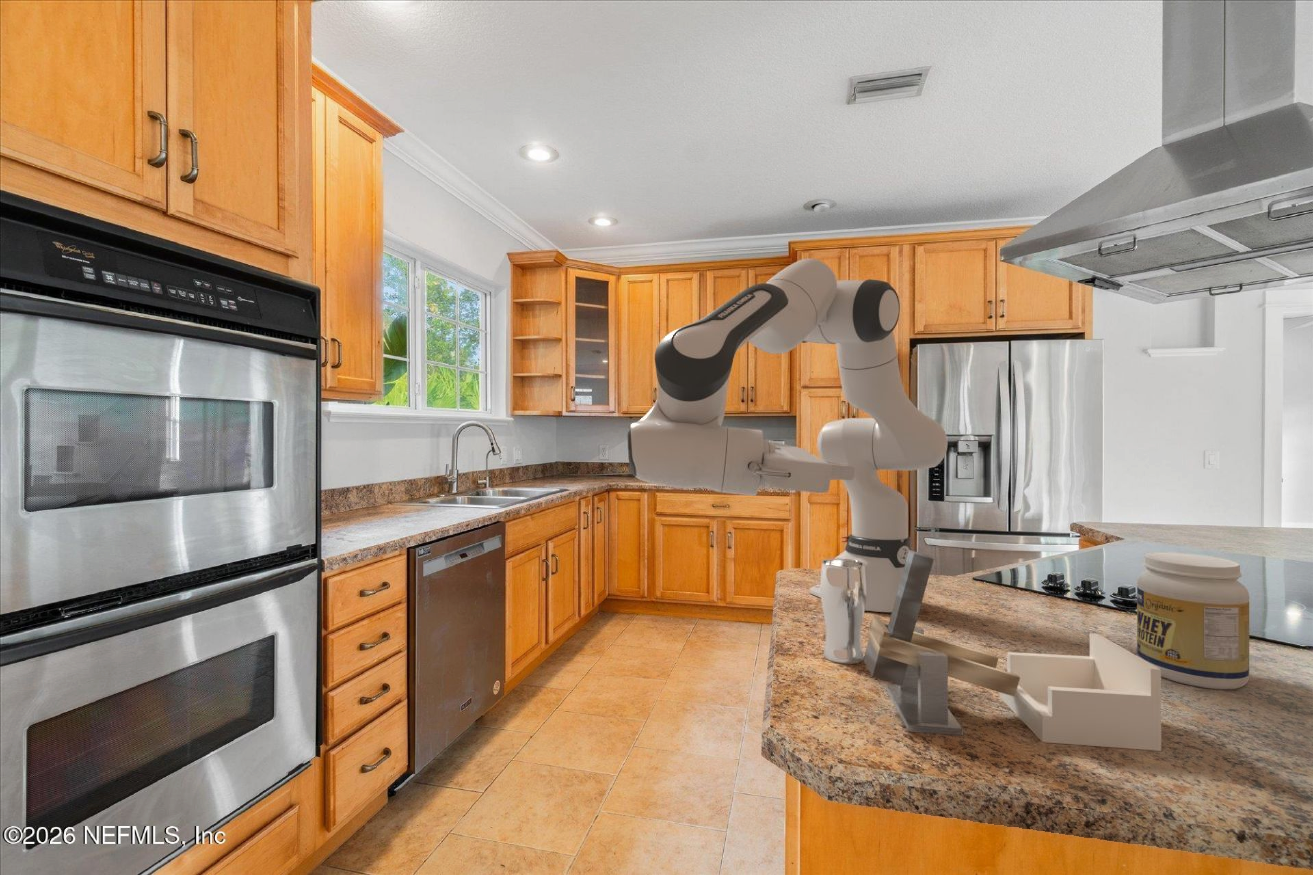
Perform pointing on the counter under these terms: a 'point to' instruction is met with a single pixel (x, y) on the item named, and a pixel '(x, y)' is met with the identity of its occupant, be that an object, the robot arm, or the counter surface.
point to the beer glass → (843, 608)
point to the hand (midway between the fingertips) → (851, 472)
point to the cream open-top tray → (1089, 697)
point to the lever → (925, 639)
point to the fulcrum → (925, 695)
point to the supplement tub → (1194, 620)
